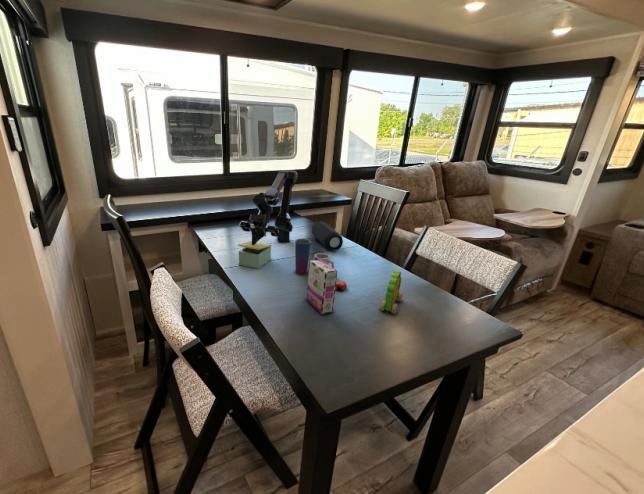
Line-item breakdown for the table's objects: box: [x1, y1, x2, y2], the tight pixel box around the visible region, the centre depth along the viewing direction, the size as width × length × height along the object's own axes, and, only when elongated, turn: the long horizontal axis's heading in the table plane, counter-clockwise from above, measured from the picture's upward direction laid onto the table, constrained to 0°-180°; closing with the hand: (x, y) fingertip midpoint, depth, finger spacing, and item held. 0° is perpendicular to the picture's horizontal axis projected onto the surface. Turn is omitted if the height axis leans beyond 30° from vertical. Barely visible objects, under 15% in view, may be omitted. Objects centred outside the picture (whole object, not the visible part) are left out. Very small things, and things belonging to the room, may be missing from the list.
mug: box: [313, 252, 335, 269], centre depth 141 cm, size 10×7×7 cm
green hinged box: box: [238, 245, 272, 270], centre depth 148 cm, size 13×11×7 cm
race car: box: [335, 278, 348, 292], centre depth 128 cm, size 13×5×4 cm, turn 63°
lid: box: [237, 240, 272, 250], centre depth 146 cm, size 13×11×1 cm
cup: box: [294, 238, 312, 276], centre depth 137 cm, size 7×7×15 cm
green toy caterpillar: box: [379, 269, 404, 315], centre depth 112 cm, size 16×5×15 cm, turn 148°
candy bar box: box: [306, 259, 338, 315], centre depth 111 cm, size 11×5×16 cm, turn 23°
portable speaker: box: [311, 221, 344, 251], centre depth 173 cm, size 26×10×10 cm, turn 13°
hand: (252, 244), depth 144 cm, fingers closed, pressing on lid
